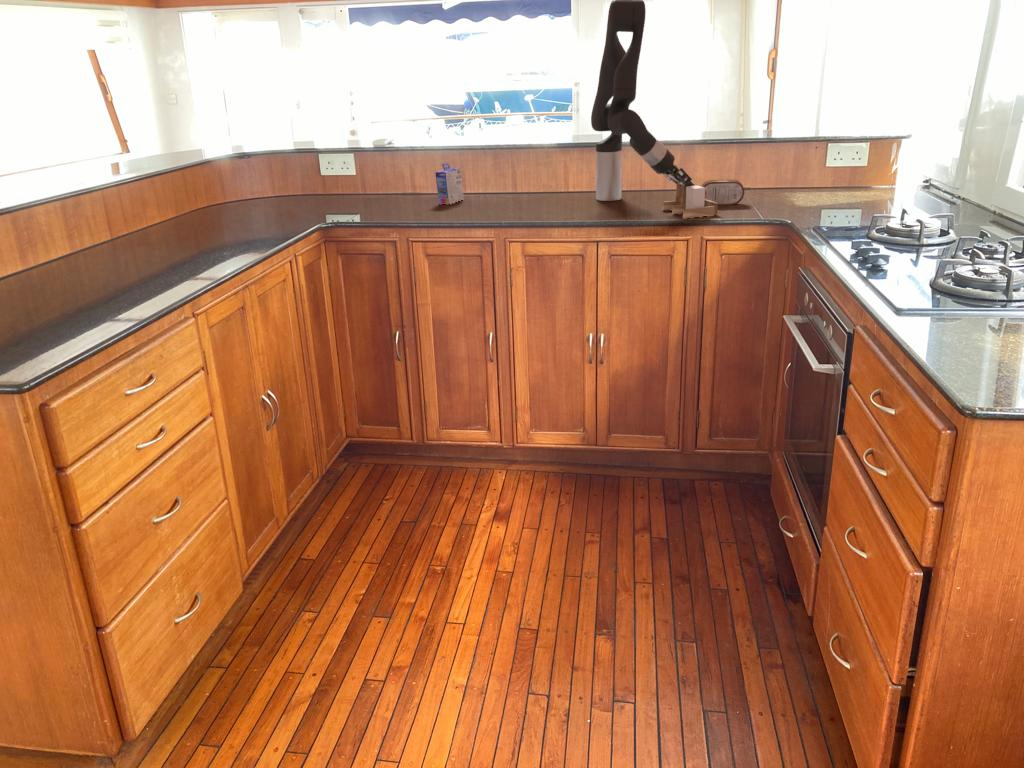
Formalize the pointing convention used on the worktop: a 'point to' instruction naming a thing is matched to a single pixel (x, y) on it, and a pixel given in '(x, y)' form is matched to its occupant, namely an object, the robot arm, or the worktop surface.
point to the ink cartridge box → (449, 185)
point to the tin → (724, 191)
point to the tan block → (680, 194)
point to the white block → (695, 197)
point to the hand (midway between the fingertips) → (689, 188)
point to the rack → (692, 209)
